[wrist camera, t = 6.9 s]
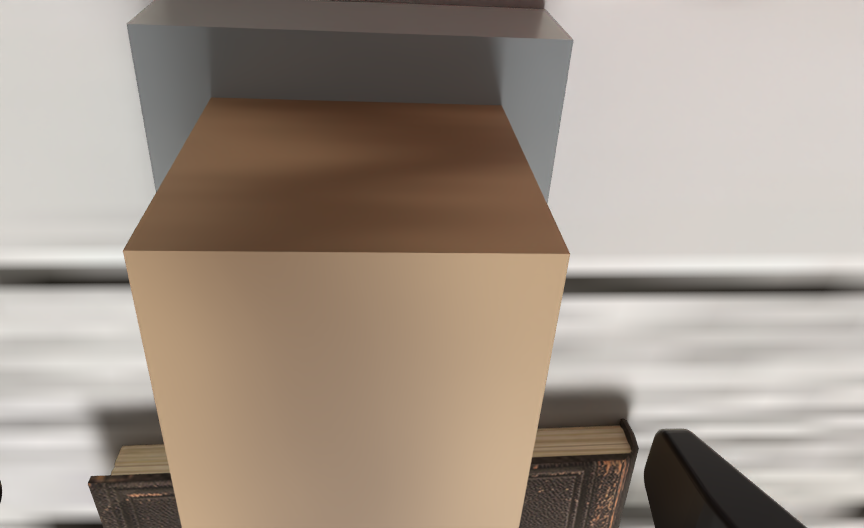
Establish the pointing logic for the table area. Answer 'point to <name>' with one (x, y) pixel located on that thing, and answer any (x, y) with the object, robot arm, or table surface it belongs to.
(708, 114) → the table surface
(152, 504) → the hardcover book
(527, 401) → the tan block
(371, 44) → the grey box
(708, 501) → the robot arm
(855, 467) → the table surface
